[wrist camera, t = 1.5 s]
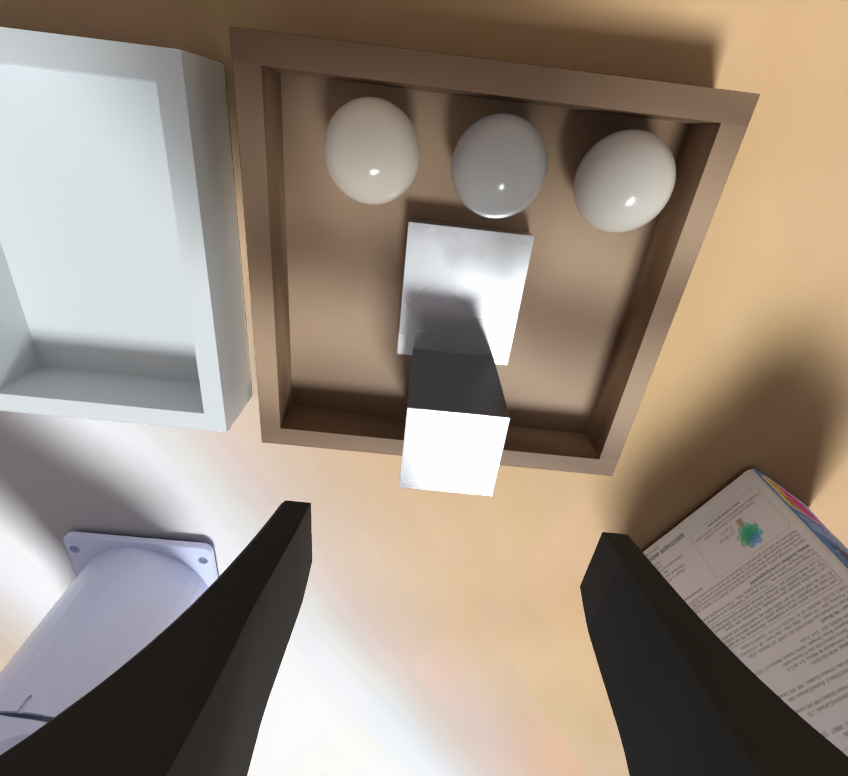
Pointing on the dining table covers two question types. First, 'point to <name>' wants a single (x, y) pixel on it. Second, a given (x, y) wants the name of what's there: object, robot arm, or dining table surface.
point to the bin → (118, 235)
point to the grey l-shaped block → (458, 350)
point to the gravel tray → (437, 200)
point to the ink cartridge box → (769, 593)
